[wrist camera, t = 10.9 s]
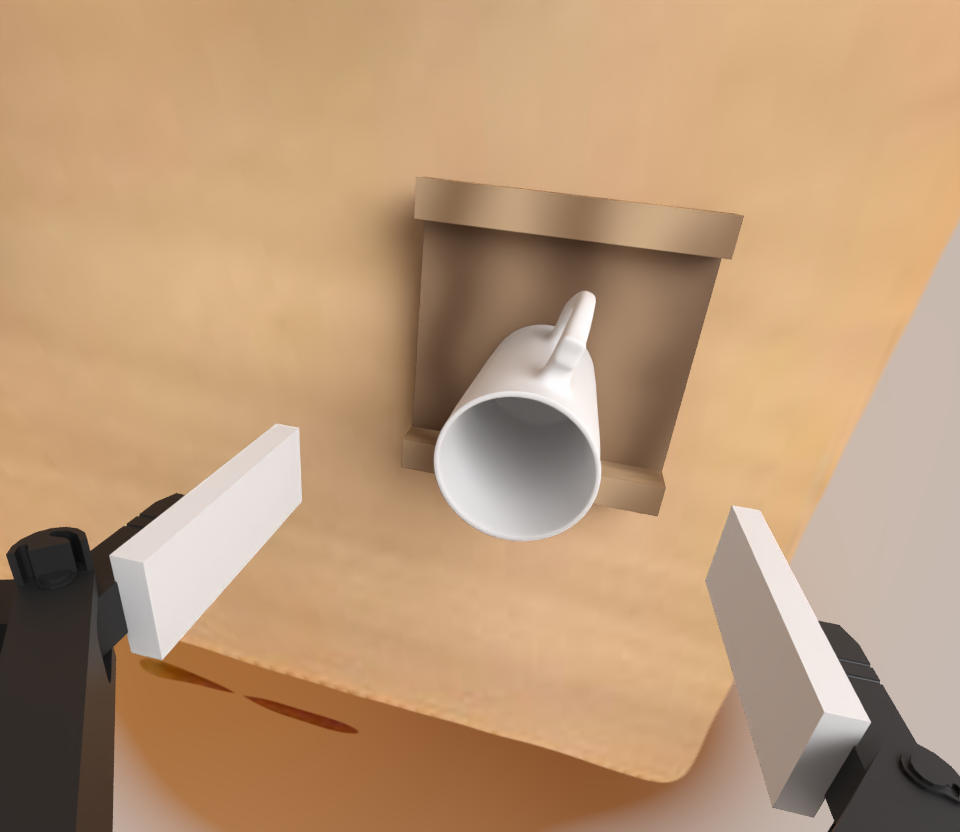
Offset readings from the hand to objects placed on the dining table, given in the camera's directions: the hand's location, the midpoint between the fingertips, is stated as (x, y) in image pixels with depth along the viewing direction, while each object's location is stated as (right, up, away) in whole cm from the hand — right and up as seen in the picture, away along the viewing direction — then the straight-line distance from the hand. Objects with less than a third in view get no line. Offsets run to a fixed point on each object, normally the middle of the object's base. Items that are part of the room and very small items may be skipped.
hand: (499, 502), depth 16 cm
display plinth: (+4, +7, +18) cm, 20 cm away
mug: (+4, +6, +15) cm, 17 cm away
